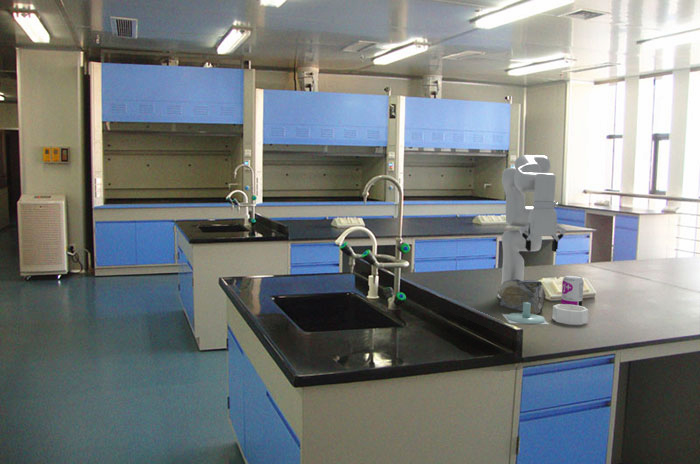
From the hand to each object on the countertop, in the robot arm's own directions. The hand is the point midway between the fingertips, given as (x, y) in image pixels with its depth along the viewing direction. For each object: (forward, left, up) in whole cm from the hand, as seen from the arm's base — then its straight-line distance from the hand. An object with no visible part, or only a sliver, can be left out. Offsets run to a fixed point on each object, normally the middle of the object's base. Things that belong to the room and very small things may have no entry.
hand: (541, 251), depth 220 cm
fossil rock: (-23, 0, -28) cm, 37 cm away
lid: (-4, -3, -28) cm, 28 cm away
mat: (-4, -3, -28) cm, 29 cm away
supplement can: (-20, +20, -28) cm, 40 cm away
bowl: (-4, +14, -28) cm, 32 cm away
